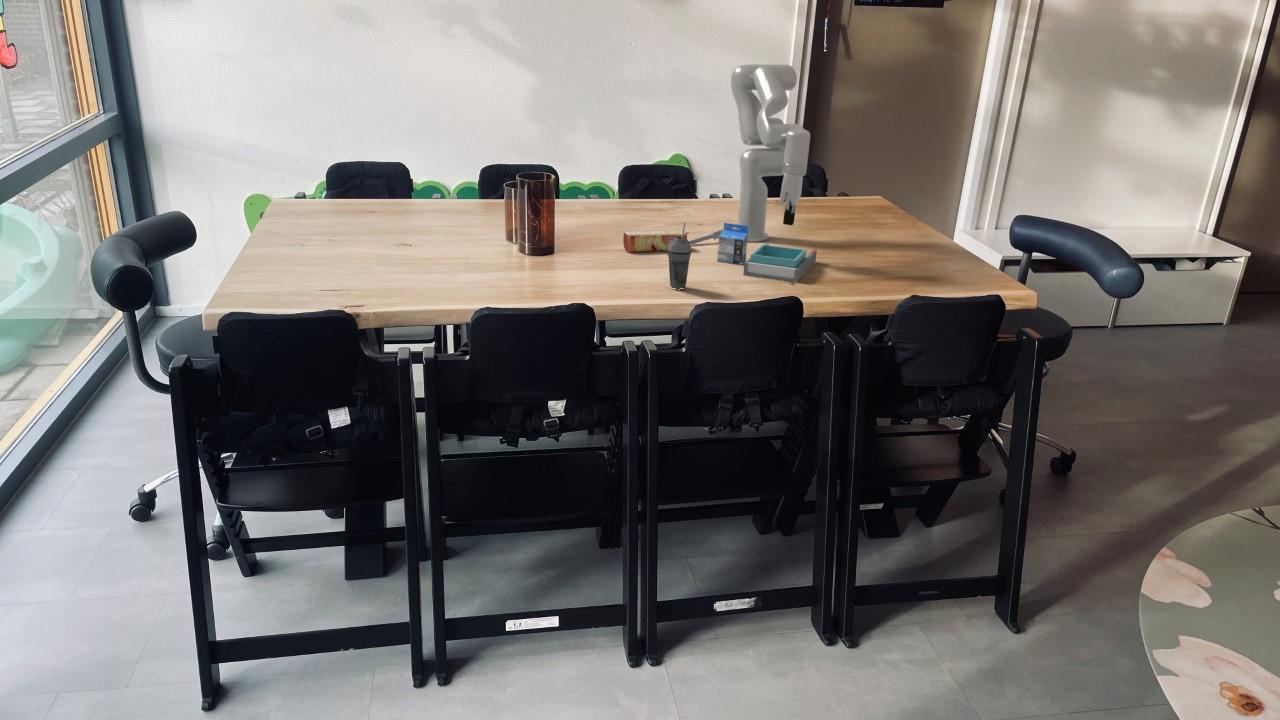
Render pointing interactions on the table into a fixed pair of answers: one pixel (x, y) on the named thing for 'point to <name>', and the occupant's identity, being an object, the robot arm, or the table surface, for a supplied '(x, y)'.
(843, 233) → the table surface
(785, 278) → the bay
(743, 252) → the label tape box
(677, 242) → the beverage cup
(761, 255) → the teal square tray
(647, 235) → the snack package
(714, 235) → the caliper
